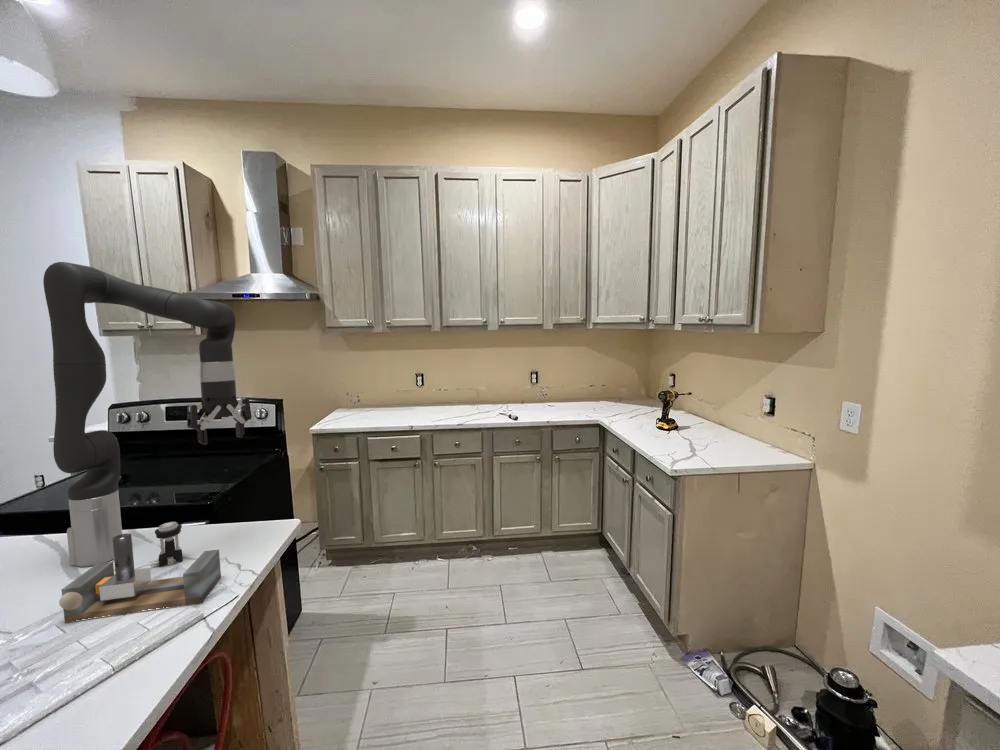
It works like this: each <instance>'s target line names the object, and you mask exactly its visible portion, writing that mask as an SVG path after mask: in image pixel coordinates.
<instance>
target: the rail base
mask: <svg viewBox="0 0 1000 750" xmlns="http://www.w3.org/2000/svg"><path fill="white" fill-rule="evenodd" d="M220 558H221V557H220V548H219V549H210V550H204V551H203V552H202V553H201V554H200V555H199V556H198V557H197V558H196V559H195V561H194V562H192V563H191V564H190V565H189V567H188V568H187V569H186V570H185V571H184V572H183V574H182V576H177V577H169V578H162V579H154V580H151V581H150V582H149V583H148V584H147V585H146V586H145V587H144V588H143V589H142V590H141V591H140V592H138V593H137V594H136V595H135V596H132V597H125V598H118V599H110V600H103V601H100V594H96V589H95V585H96V584H97V583H99V582H100V581H101V580H102V579H104V578H105V577H112V576H113V575H115V567H114V562H113V561H107V562H104V563H99V564H96V565H93V566H91V567H90V568H89V569H87V570H86V571H85V572H84V573H82V574H80V575H79V576H78V577H77V578H75V579H73V581H71V582H70V583H68V584H67V585H66V586H64V587H63V588H61V596H60V598H59V602H58V603H59V606H60V607H61V609H63V616H64V623H65V622H68V623H72V622H71V621H75V622H77V621H76V620H82V619H88V618H94V617H102V616H108V615H117V616H119V615H118V614H124V615H128V614H127V613H131V614H134V613H133V612H138V611H142V610H148V609H156V608H163V607H164V608H166V607H173V606H180V607H183V606H182V605H187V606H193V604H194V605H200V603H201V604H202V603H203V602H204V601H205V600H206V598H207V597H208V596H207V595H209V594H210V593H211V592H212V591H213V589H214V588H215V586H216V585H217V584H218V582H219V581H220V580H221V578H222V574H221V572H222V571H221V559H220ZM210 591H211V592H210ZM209 592H210V593H209ZM206 596H207V597H206ZM204 599H205V600H204ZM173 608H174V607H173ZM166 609H167V608H166ZM138 613H139V612H138ZM82 621H83V620H82Z"/></svg>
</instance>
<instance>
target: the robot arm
mask: <svg viewBox="0 0 1000 750" xmlns="http://www.w3.org/2000/svg"><path fill="white" fill-rule="evenodd" d="M42 280H43V291H44V296H45V301H46V305H47V311H48V316H49V321H50V329H51V342H52V354H53V355H52V365H53V366H52V367H53V368H52V371H53V379H54V380H53V381H54V392H55V395H54V396H55V421H54V423H55V424H54V434H53V435H54V436H53V437H54V438H53V459H54V462H55V465H56V466H57V468H58V469H59V470H60V471H62V472H63V473H66V474H75V473H80V472H83V471H87V472H86V473H85V474H84V475H83V476H82V477H81V478H80V479H79V480H77V481H76V482H75V483H73V484H71V485H70V486H69V487H68V489H67V498H68V507H69V508H68V509H69V516H70V526H71V527H68V528H67V530H66V535H67V547H68V557H69V565H70V566H72V567H73V566H75V567H81V568H83V567H93V566H94V565H96V564H99V563H107V562H111V561H112V560H114V551H113V541H112V538H114V537H115V536H118V535H121V534H123V527H122V517H121V515H122V514H121V505H120V496H119V493H120V492H119V482H120V480H121V451H120V443H119V441H118V438H117V437H116V436H115V434H114V433H113V432H111V431H109V430H106V429H105V430H103V429H100V430H95V431H89V432H86V422H87V421H86V420H87V417H88V414H89V412H90V410H91V408H92V406H93V405H94V403H95V402H96V400H97V399H98V397H99V396H100V394H101V393H102V391H103V389H104V388H105V385H106V383H107V363H106V362H107V361H106V356H105V352H104V350H103V349H102V346H101V345H100V343H99V342H98V340H97V339H96V337H95V335H94V334H93V333H92V330H90V327H89V325H88V323H87V318H86V308H85V307H86V306H85V304H94V303H96V304H108V305H109V304H110V305H120V306H125V307H128V308H129V307H130V308H133V309H135V310H138V311H140V312H142V313H145V314H148V315H151V316H155V317H159V318H164V319H169V320H172V321H178V322H182V323H184V324H187V325H191V326H193V327H197V328H201V329H202V328H203V329H207V331H206V337H205V338H204V339H202V340H201V341H199V343H198V344H199V346H198V349H199V360H200V361H199V362H200V365H199V379H200V380H199V381H200V392H201V394H200V395H201V403H200V404H199V403H198V404H191V403H190V404H187V406H186V408H187V409H186V413H187V414H186V419H187V421H186V423H187V424H186V425H187V428H188V429H193V430H196V431H197V441H198V443H200V445H203V446H204V445H205V446H206V445H208V430H207V429H206V428H207V427H208V426H209V424H210V423H211V422H212V421H213V420H217V419H221V418H222V419H223V418H229V417H230V418H231V419H232V420H233V421H234V422H235V423H234V426H235V436H236V438H243V437H244V435H245V433H246V431H245V422H248V421H250V420H252V411H251V403H250V401H251V400H250V399H249V398H245V397H241V398H240V399H237V385H236V383H237V382H236V371H235V365H234V357H233V355H234V354H233V347H232V346H233V341H234V336H235V330H236V323H237V322H236V315H235V312H234V310H233V308H232V307H231V306H230V305H229V304H226V303H224V302H219V301H213V300H209V299H204V298H203V299H202V298H197V297H192V296H189V295H187V294H184V293H182V292H181V293H180V292H177V291H173V290H168V289H164V288H160V287H154V286H149V285H145V284H138V283H135V282H131V281H128V280H125V279H122V278H119V277H117V276H115V275H112V274H109V273H107V272H105V271H102V270H100V269H97V268H95V267H92V266H90V265H89V266H88V265H83V264H78V263H72V262H67V261H66V262H65V261H57V262H54V263H52V264H49V266H48V267H47V268H46V270H45V271H44V275H43V279H42ZM237 406H239V407H240V411H241V414H240V413H239V412H238V411H237ZM201 410H202V411H203V412H204V413H203V414H202V415H201V417H200V418H199V419H200V420H198V413H200V411H201Z"/></svg>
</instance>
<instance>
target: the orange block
mask: <svg viewBox="0 0 1000 750" xmlns="http://www.w3.org/2000/svg"><path fill="white" fill-rule="evenodd" d="M110 578H111V577H105V578H104V579H102V580H101V581H100V582H99V583H97V584H96V585H95V589H96V594H100V590H99V587H100V586H101V585H102V584H103V583H105V582H106V581H107V580H108V579H110Z"/></svg>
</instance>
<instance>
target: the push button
mask: <svg viewBox="0 0 1000 750" xmlns="http://www.w3.org/2000/svg"><path fill="white" fill-rule="evenodd" d="M182 527H183V525H182V524H180V523H178V522H177V521H168V522H165V523H163V524H160V525H159V526H158V528H156V529H155V530H154V534H155V536H156V538H157V539H159V541H160V551H159V554H158V558H157V559H156V560H152V561H150V562H149V564H151V565H150V566H149V568H152V567H154V566H155V567H156V566H159V567H160V568H162V567H165V566H170V565H174V564H175V563H182V562H183V559H184V558H183V549H182V548H181V547H180V546H179V545H180V543H179V542H180V541H179V534H180V533H181V532H182ZM153 563H154V564H153ZM161 566H162V567H161Z"/></svg>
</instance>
